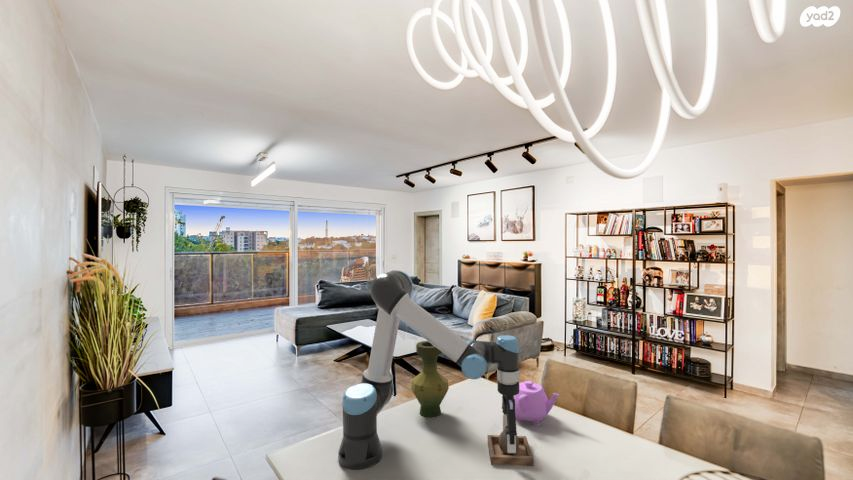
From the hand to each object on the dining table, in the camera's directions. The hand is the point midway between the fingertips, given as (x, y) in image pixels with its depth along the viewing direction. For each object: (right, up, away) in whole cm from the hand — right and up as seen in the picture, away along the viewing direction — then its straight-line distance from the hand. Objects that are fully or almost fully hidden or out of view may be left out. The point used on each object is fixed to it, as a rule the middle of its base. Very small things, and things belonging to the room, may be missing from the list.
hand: (509, 441), depth 132 cm
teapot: (+15, -4, +24) cm, 29 cm away
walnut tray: (0, -4, 0) cm, 4 cm away
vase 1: (-27, -5, +31) cm, 42 cm away
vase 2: (0, -4, 0) cm, 4 cm away
